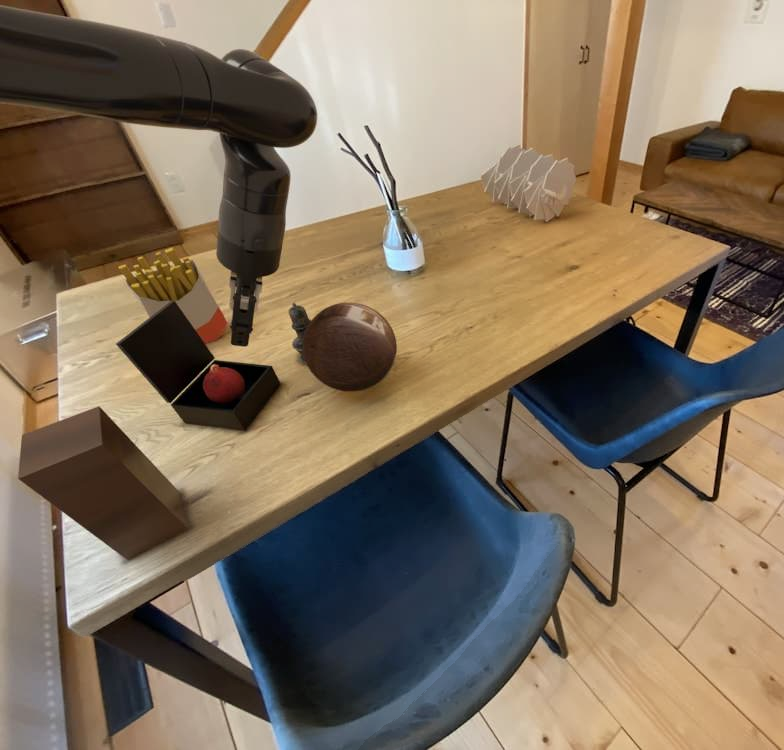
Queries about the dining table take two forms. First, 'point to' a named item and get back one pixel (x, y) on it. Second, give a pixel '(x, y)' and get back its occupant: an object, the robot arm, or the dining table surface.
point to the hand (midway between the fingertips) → (241, 326)
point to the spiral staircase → (530, 182)
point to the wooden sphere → (349, 347)
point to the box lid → (167, 351)
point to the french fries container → (177, 292)
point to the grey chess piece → (299, 327)
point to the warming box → (232, 415)
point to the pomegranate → (223, 385)
